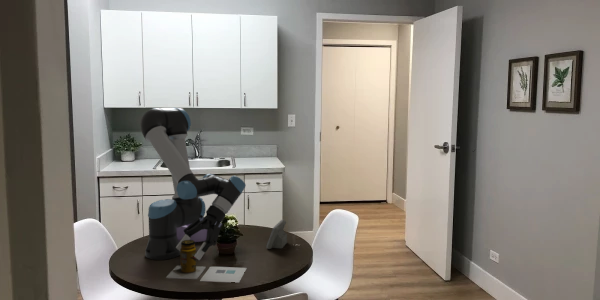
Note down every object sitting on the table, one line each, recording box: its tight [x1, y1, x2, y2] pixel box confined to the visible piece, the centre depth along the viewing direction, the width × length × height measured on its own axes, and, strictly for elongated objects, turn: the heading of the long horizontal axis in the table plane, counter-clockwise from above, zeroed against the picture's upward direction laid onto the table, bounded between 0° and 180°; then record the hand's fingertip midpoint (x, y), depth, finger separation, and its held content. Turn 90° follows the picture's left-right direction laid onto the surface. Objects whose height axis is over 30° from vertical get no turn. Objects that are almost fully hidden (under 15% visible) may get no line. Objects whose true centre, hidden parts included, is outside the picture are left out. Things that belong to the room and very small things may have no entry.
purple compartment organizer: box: [177, 224, 207, 243], centre depth 230 cm, size 20×12×7 cm, turn 92°
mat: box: [165, 265, 207, 280], centre depth 185 cm, size 12×12×1 cm
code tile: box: [199, 266, 248, 284], centre depth 184 cm, size 15×15×1 cm
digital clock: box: [265, 219, 288, 250], centre depth 221 cm, size 16×9×11 cm, turn 155°
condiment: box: [172, 240, 200, 276], centre depth 185 cm, size 7×8×12 cm
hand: (187, 253), depth 184 cm, fingers open, 13 cm apart
